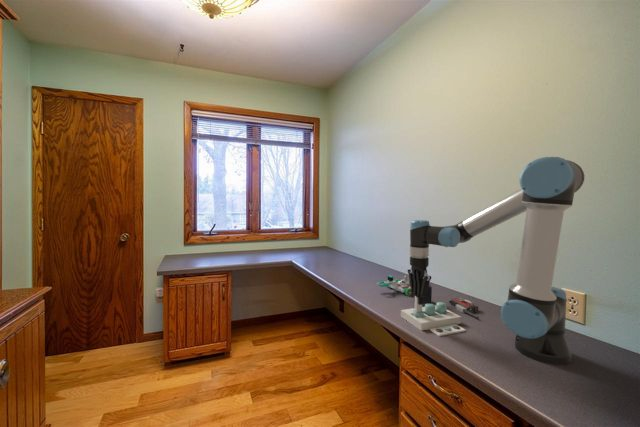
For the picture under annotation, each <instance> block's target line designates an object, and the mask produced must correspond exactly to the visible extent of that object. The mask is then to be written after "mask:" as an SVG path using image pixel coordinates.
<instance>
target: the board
mask: <svg viewBox="0 0 640 427" xmlns="http://www.w3.org/2000/svg"><path fill="white" fill-rule="evenodd" d="M434 305H435V315H434V316H428V315H426V314H425V307H422V311H423V312H424V317H422V318H416V317H415V316H413V310H415V307H414V308H413V307H412V308H406V309H400V317H401V318H402V319H404V320H405V321H406V320H407V322H408V323H409V324H411V325H412V326H414V327H416V328H417V329H418V330H420V331H425V330H430V329H433V328H439V327H444V326H450V325H461V324H462V316H460V315H459V314H456V313H455V312H453V311H451V310H449V309H447V314H439V313H437V312H436V304H434Z"/></svg>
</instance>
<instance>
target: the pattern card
mask: <svg viewBox="0 0 640 427" xmlns="http://www.w3.org/2000/svg"><path fill="white" fill-rule="evenodd" d="M429 331H430V332H432V333H434V334H435V335H437V336H438V337H443V336H447V335H452V334H458V333H459V334H460V333H463V332H467V329H465V328H464V327H462V326H459V324H456V325H450V326H444V327H439V328H433V329H429Z"/></svg>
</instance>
